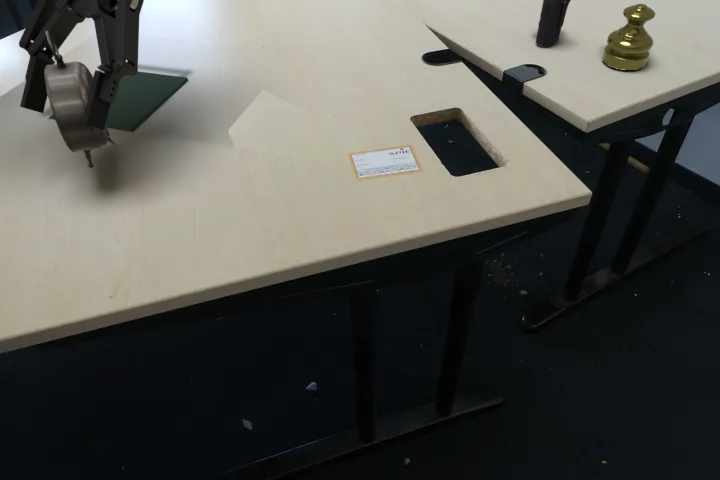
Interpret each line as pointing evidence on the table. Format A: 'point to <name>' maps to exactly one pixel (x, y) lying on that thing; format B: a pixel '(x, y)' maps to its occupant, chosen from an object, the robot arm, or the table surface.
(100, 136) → the alarm clock
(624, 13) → the gold round tapered piece
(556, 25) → the two-way radio
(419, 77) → the table surface
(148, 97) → the desk mat
